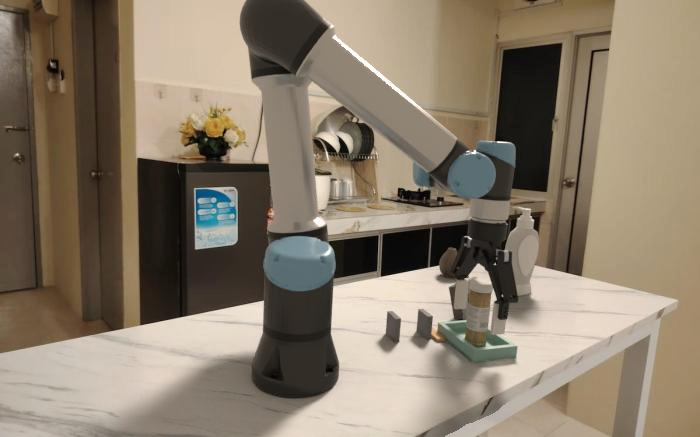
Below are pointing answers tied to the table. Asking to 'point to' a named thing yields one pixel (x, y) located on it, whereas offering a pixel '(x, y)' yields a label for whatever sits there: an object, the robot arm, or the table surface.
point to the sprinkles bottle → (478, 311)
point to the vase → (447, 262)
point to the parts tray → (493, 349)
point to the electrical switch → (456, 312)
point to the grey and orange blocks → (422, 326)
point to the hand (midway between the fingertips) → (477, 320)
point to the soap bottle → (523, 251)
